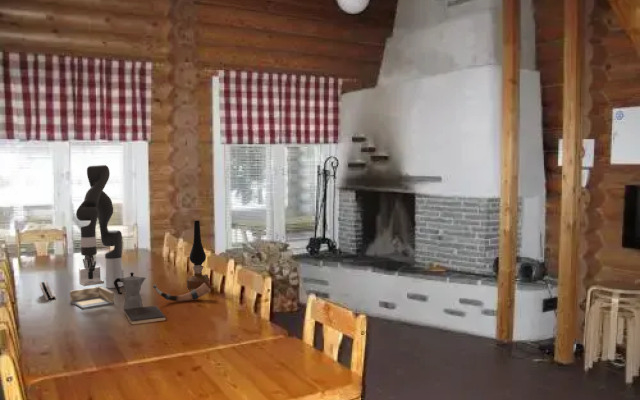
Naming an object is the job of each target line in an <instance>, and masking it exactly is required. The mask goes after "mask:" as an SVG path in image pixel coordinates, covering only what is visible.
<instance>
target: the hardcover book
mask: <svg viewBox="0 0 640 400" xmlns="http://www.w3.org/2000/svg"><path fill="white" fill-rule="evenodd" d="M123 310H124V313H125V315H126V318H127V319H128V321H129V323H130V325H137V324H138V325H139V324H145V323H147V324H148V323H153V322H160V321H162V322H163V321H167V316H166V315H165V314H164V313H163V312H162V310H161V309H160V308H159V307H158V305H150V306H149V305H148V306H142V307H139V308H130V309H124V308H123Z"/></svg>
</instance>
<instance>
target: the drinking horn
mask: <svg viewBox="0 0 640 400" xmlns="http://www.w3.org/2000/svg"><path fill="white" fill-rule="evenodd" d="M152 288H154V289H155V291H156V292H157V293H158V294H159V295H160V296H161V297H163V298H164V299H165V300H167V301H173V302H187V301H192V300H193V301H195V300H198V299H199V298H202V297H203V296H205V295H208V293H210V292H212V290H211V289H210V288H209V287H208V286H207V285H206V284H205V283H203V284H202V285H201V286H200V287H198V288H197V289H194V290H193V289H192V290H189V291H190V292H187V293H185V294H179V295H171V294H170V292H168V293H164V292H163V291H161V290H160V289H159V288H158V287H157V284H154V285H152Z"/></svg>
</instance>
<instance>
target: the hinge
mask: <svg viewBox="0 0 640 400" xmlns="http://www.w3.org/2000/svg"><path fill="white" fill-rule="evenodd" d="M48 282H49V281H48V280H44V281H41V282H39V287H40V290H41V292H42V294H43V296H44V299H45V300H46V301H49V299H53V298H54V300H57V296H56V292H55V290H54V289H52V288H51V287H50V285H49V283H48Z"/></svg>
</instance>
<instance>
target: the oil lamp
mask: <svg viewBox="0 0 640 400" xmlns="http://www.w3.org/2000/svg"><path fill="white" fill-rule="evenodd" d="M193 227H194V228H193V243H192V247H191V251H190V253H189V257H188V258H189V261H190V262H191V263H192V264H193V266H192V269H193V272H194V273H193V275H192V276H190V277H188V278H187V279H186V289H187V288H188V289H197V288H198V287H200V286H201V285H202V284H203V283H205V284H206V285H207V286H208V287H210V288H211V279H210V277H209V275H208V274H207V273H204V274H203V268H204V266H203V263H204V262H205V261H206V259H207V255H206V252H205V250H204V247H203V243H202V237H201V236H202V235H201V223H200V220H198V219H197V220H194V222H193ZM188 289H187V290H188Z"/></svg>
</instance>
